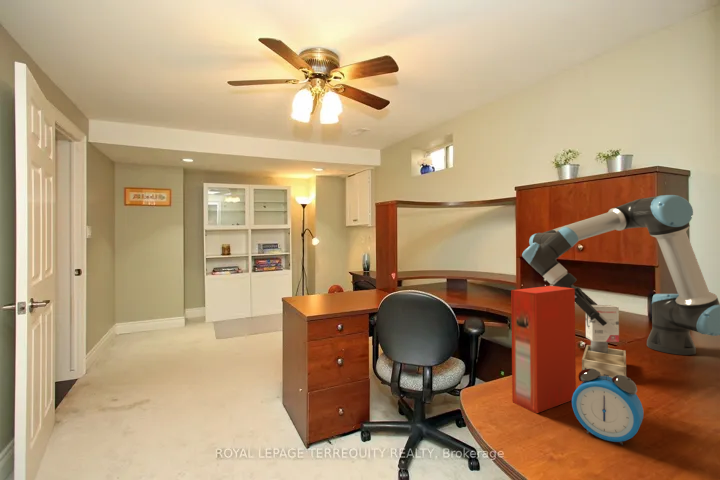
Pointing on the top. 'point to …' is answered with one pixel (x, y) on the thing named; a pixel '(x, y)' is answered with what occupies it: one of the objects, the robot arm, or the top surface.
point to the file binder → (543, 347)
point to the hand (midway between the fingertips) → (614, 329)
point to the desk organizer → (604, 359)
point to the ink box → (599, 333)
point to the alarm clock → (607, 406)
